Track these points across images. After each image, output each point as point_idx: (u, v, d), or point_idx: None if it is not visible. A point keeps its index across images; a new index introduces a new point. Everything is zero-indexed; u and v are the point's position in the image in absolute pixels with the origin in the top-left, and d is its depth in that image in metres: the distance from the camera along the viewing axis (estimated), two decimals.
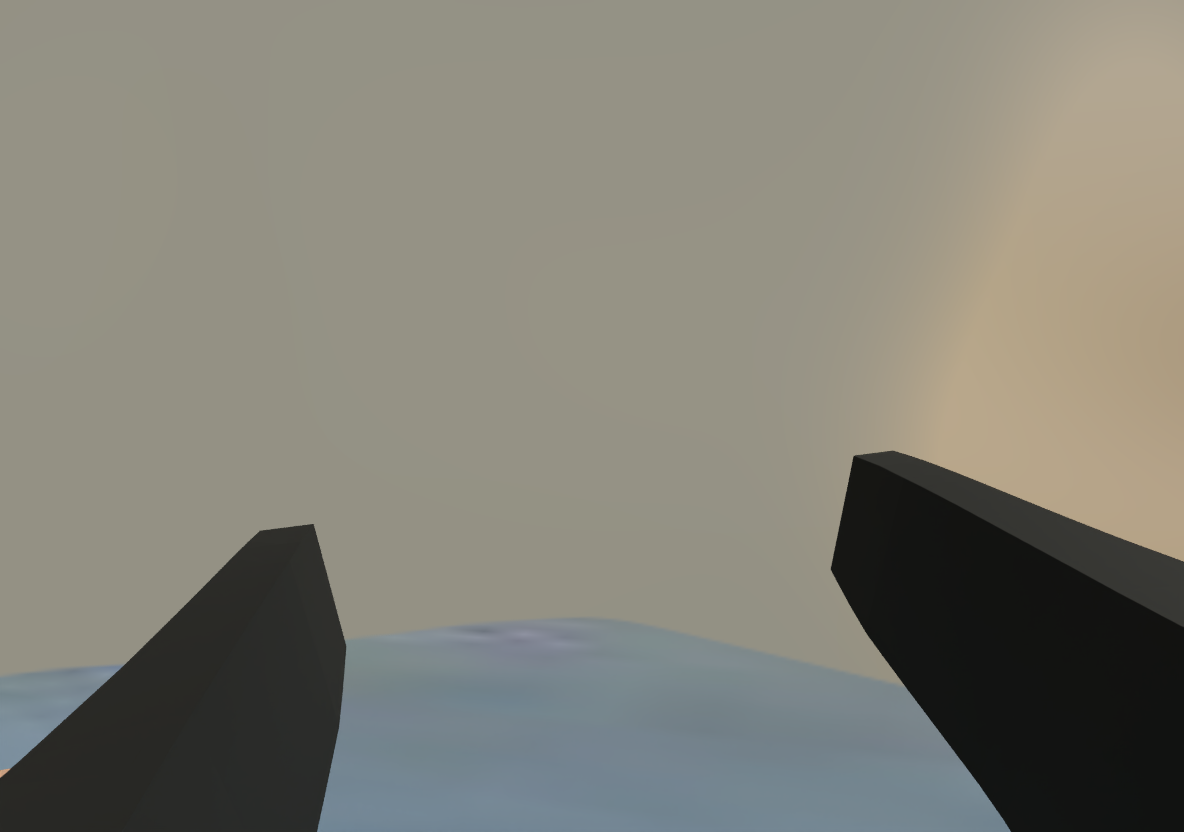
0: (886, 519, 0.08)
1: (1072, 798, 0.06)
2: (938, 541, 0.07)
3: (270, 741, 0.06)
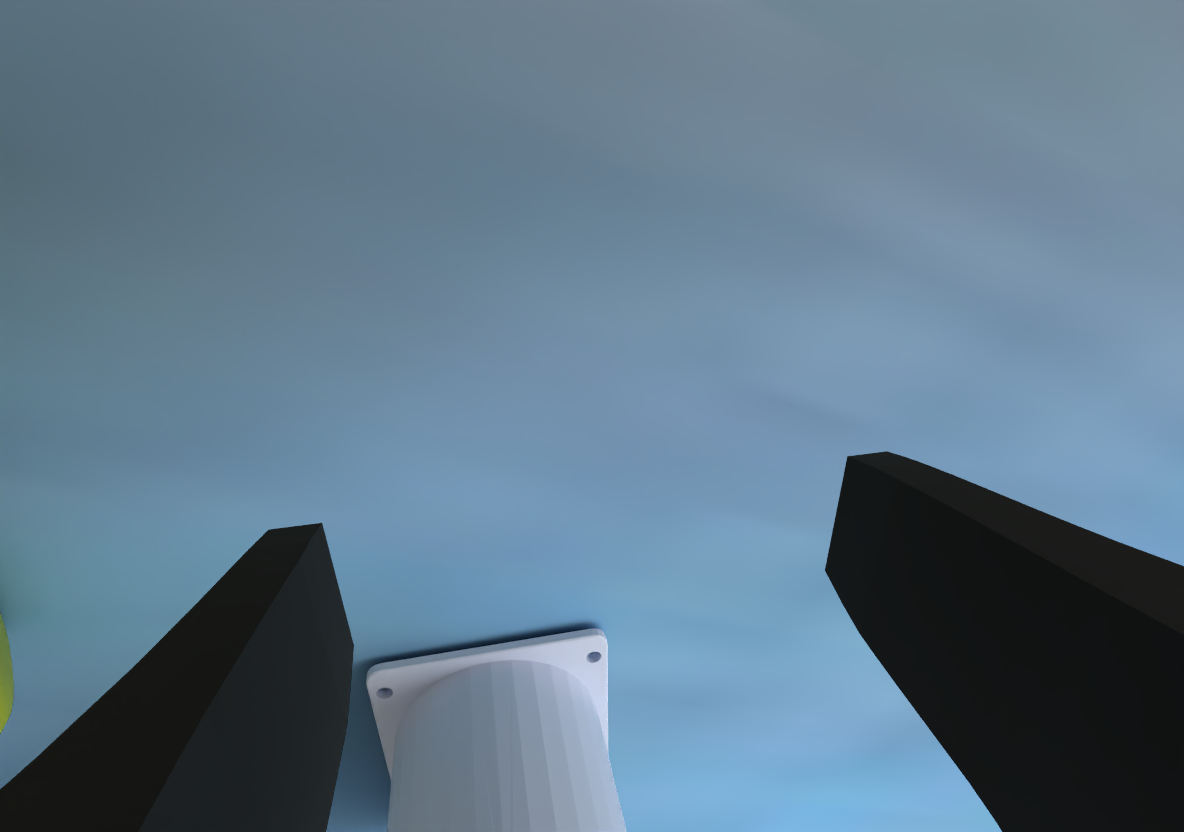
0: (879, 520, 0.08)
1: (1063, 800, 0.06)
2: (930, 542, 0.07)
3: (281, 738, 0.06)
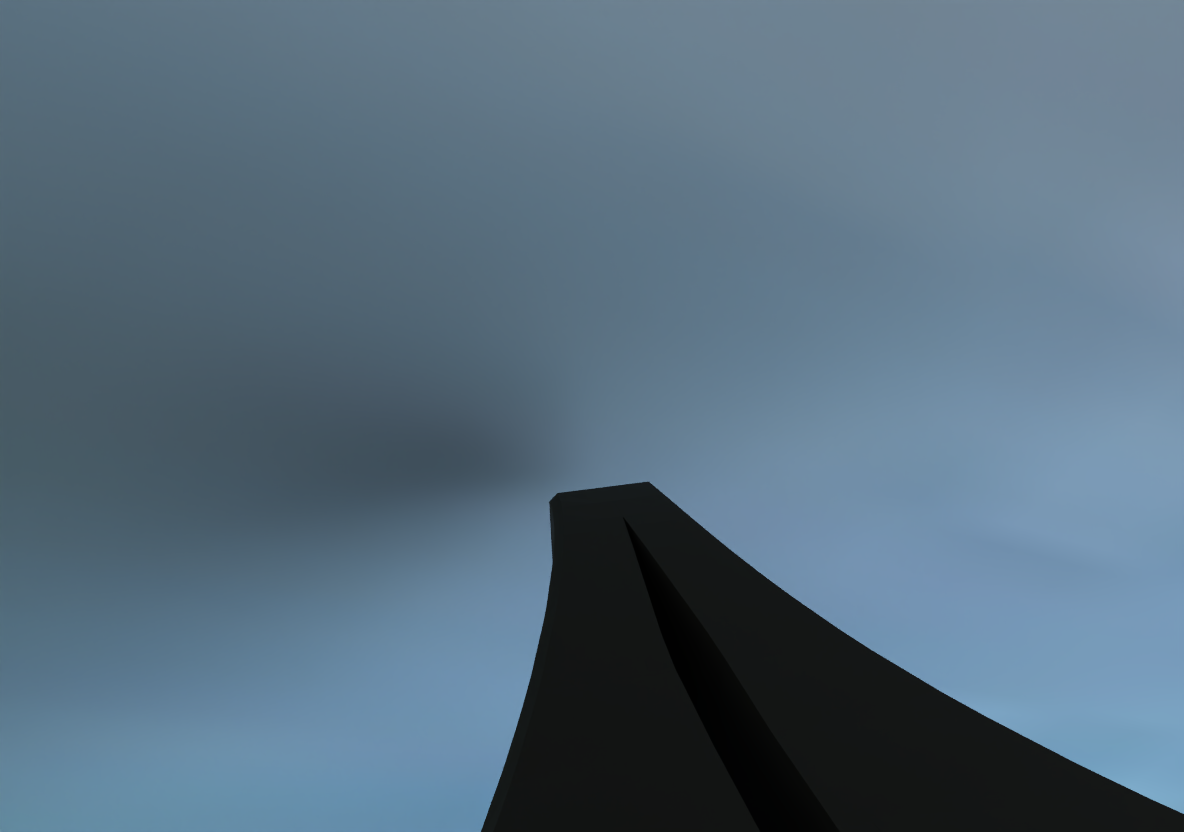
0: None
1: None
2: None
3: None
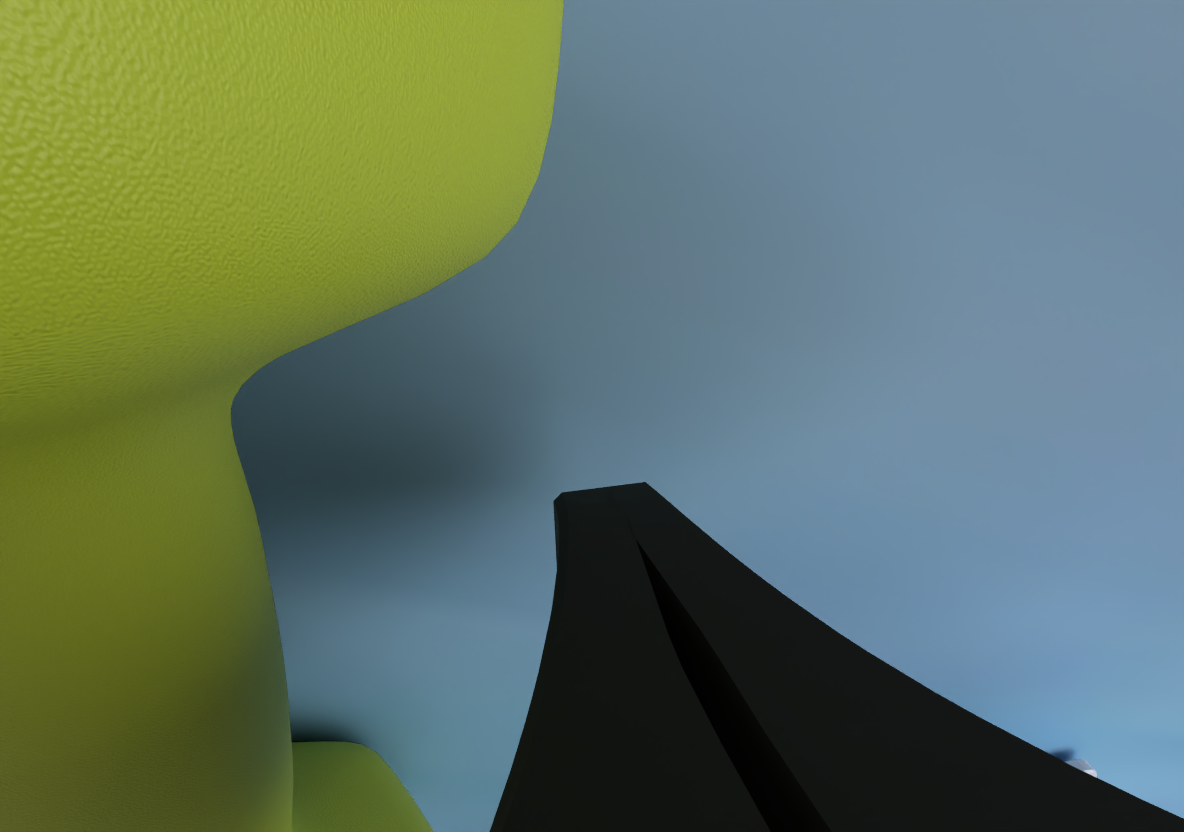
0: None
1: None
2: None
3: None
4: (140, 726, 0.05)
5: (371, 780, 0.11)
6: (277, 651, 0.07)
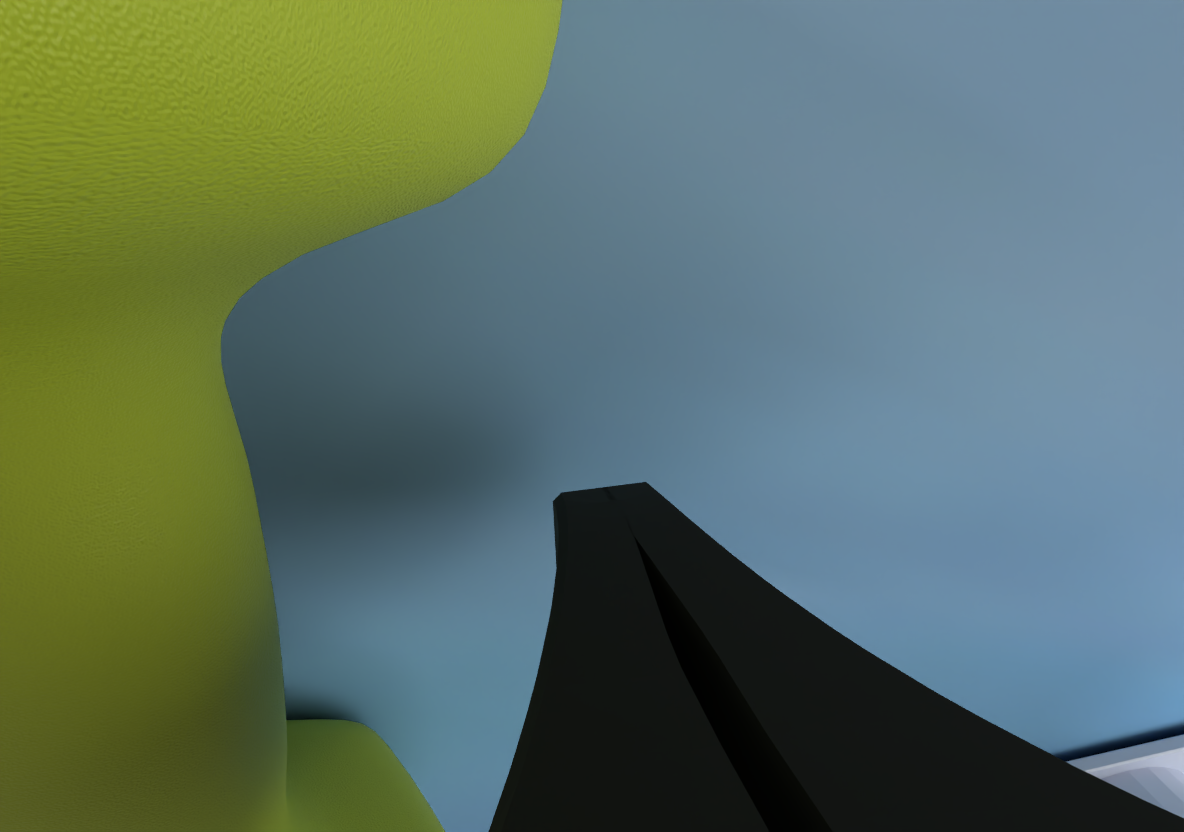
0: None
1: None
2: None
3: None
4: (124, 670, 0.05)
5: (368, 757, 0.10)
6: (270, 607, 0.06)
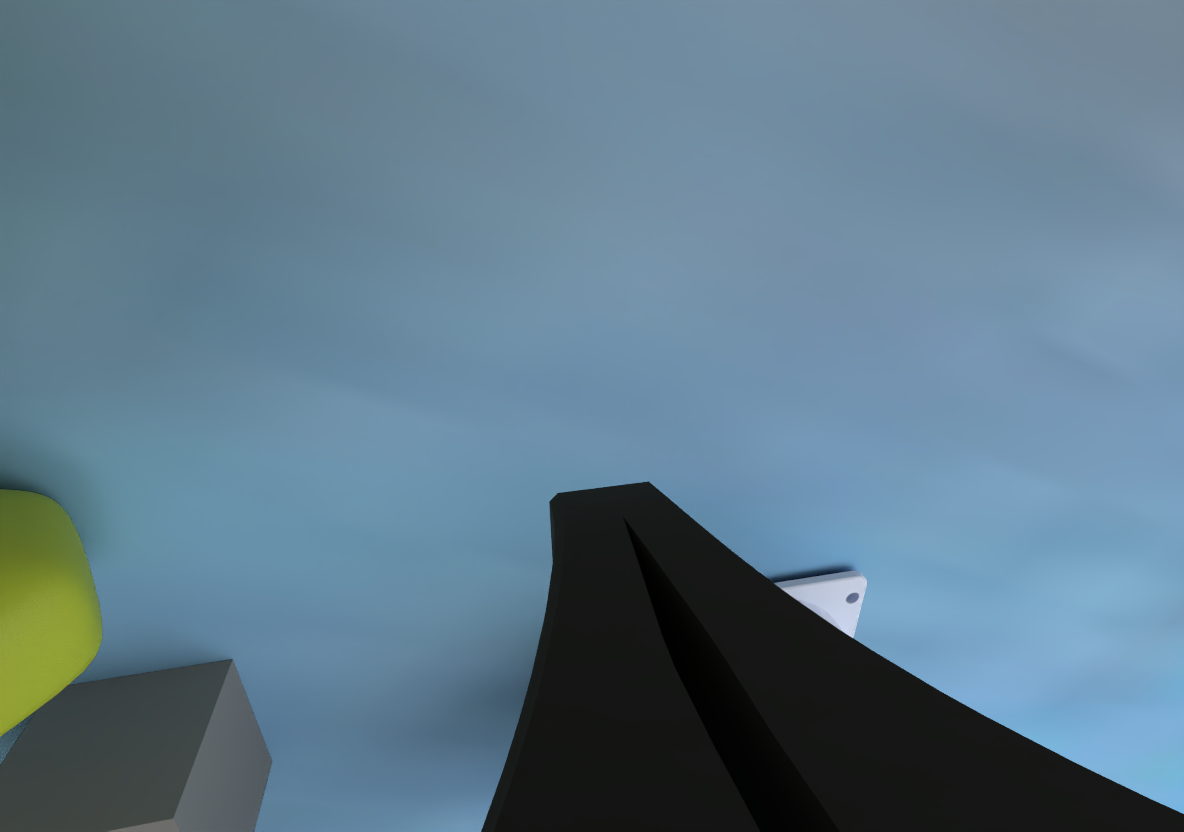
0: None
1: None
2: None
3: None
4: None
5: (32, 505, 0.15)
6: None
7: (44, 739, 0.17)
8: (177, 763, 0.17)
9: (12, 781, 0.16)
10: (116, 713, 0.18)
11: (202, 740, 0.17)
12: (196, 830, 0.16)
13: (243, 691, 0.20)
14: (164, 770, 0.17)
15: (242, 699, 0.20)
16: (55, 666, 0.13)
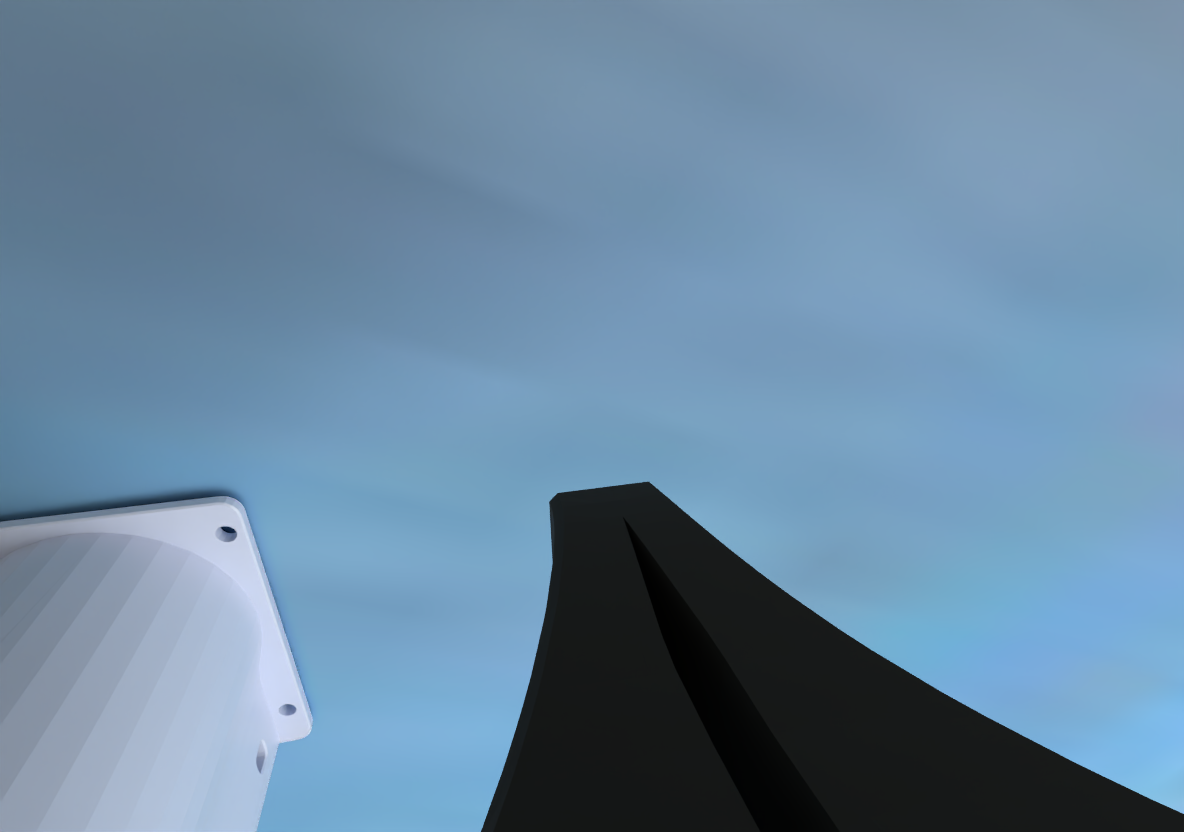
0: None
1: None
2: None
3: None
4: None
5: None
6: None
7: None
8: None
9: None
10: None
11: None
12: None
13: None
14: None
15: None
16: None
